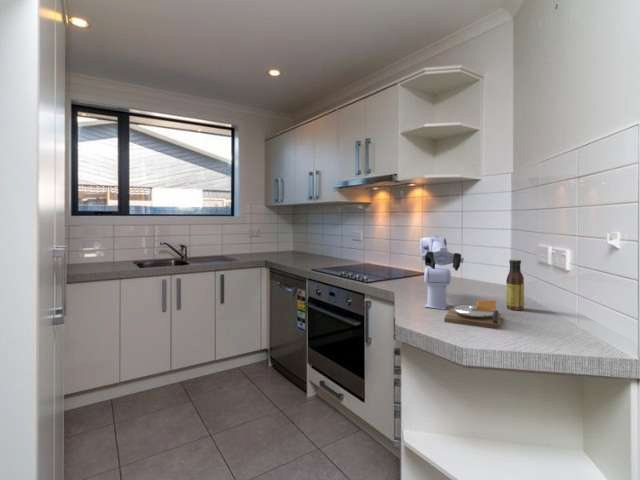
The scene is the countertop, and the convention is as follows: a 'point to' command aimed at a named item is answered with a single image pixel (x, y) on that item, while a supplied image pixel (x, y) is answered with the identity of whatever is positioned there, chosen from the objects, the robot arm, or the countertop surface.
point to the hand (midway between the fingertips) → (445, 267)
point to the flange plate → (477, 309)
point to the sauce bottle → (515, 286)
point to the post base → (474, 319)
